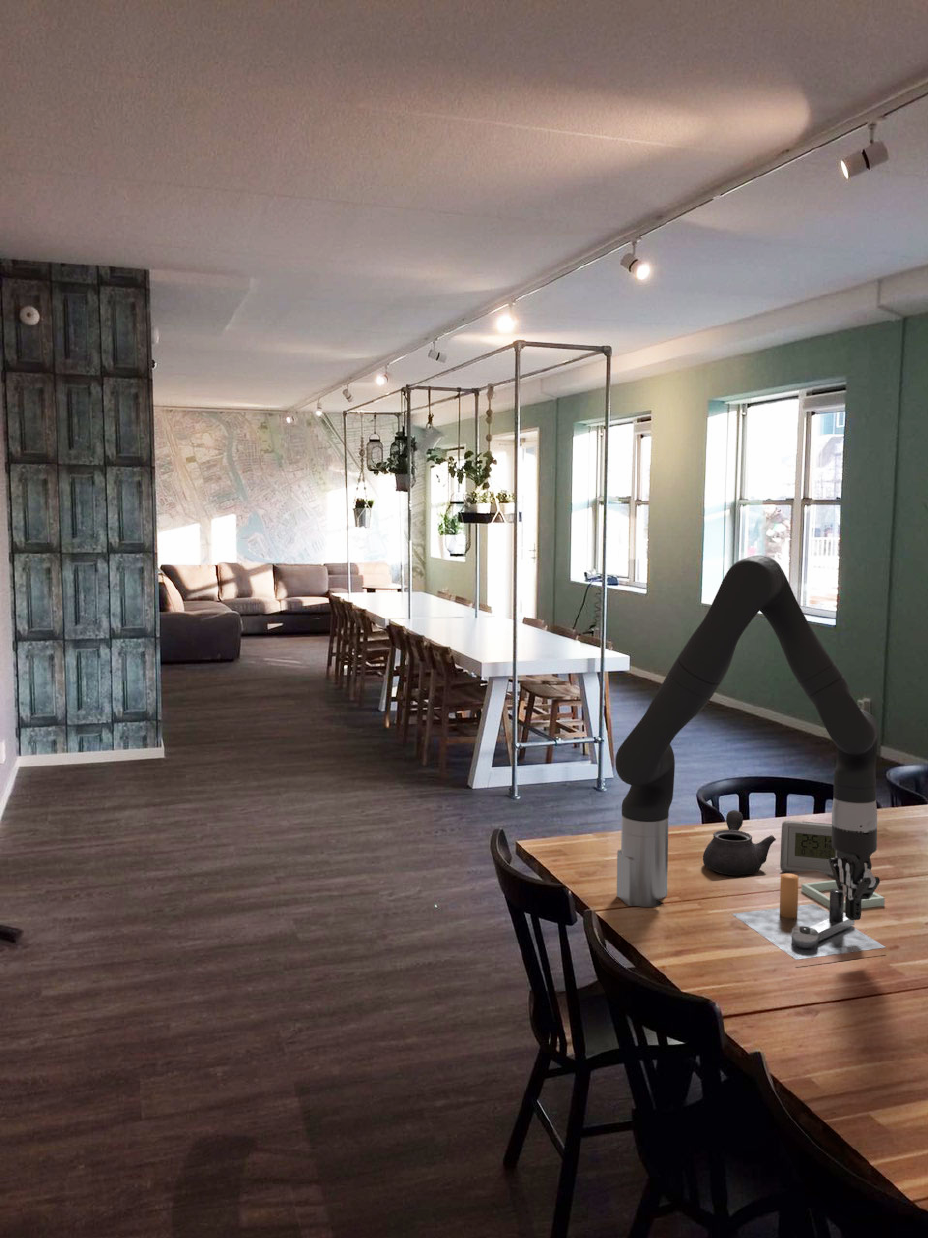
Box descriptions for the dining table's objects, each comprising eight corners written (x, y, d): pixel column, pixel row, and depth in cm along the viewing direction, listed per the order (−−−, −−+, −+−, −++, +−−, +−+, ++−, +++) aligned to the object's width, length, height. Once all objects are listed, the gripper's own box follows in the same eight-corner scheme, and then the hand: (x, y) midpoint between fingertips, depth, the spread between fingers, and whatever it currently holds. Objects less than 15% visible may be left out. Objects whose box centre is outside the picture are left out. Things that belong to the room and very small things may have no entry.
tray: (834, 919, 197) (835, 903, 197) (801, 898, 208) (801, 884, 207) (884, 912, 200) (884, 897, 200) (848, 892, 210) (848, 878, 210)
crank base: (795, 968, 176) (796, 959, 176) (731, 921, 196) (731, 913, 196) (885, 955, 181) (886, 947, 181) (814, 911, 201) (814, 903, 201)
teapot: (781, 880, 218) (782, 834, 217) (706, 878, 219) (707, 832, 218) (764, 851, 236) (765, 808, 235) (695, 849, 238) (696, 807, 237)
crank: (808, 950, 179) (809, 911, 178) (786, 942, 182) (787, 903, 181) (859, 926, 189) (860, 889, 188) (837, 919, 192) (838, 882, 192)
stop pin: (786, 919, 193) (787, 880, 192) (776, 912, 196) (777, 874, 196) (800, 917, 194) (802, 878, 193) (791, 911, 197) (792, 872, 196)
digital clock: (776, 873, 222) (777, 825, 221) (786, 861, 230) (787, 814, 229) (855, 886, 214) (857, 837, 213) (863, 873, 222) (865, 825, 221)
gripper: (815, 815, 189) (814, 907, 190) (855, 835, 176) (854, 934, 177) (853, 812, 190) (851, 904, 191) (895, 832, 177) (894, 930, 178)
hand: (853, 918), depth 184 cm, fingers closed
